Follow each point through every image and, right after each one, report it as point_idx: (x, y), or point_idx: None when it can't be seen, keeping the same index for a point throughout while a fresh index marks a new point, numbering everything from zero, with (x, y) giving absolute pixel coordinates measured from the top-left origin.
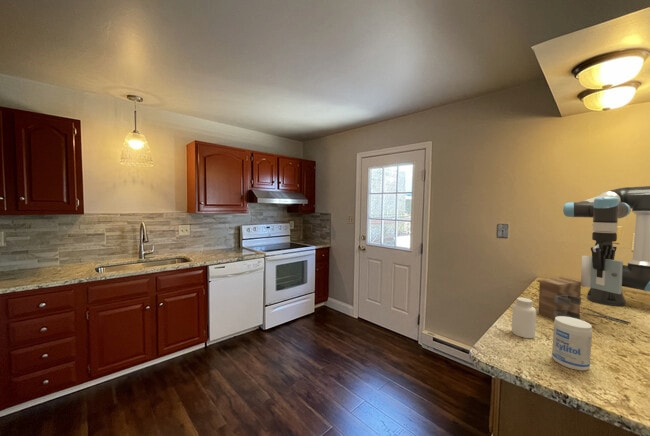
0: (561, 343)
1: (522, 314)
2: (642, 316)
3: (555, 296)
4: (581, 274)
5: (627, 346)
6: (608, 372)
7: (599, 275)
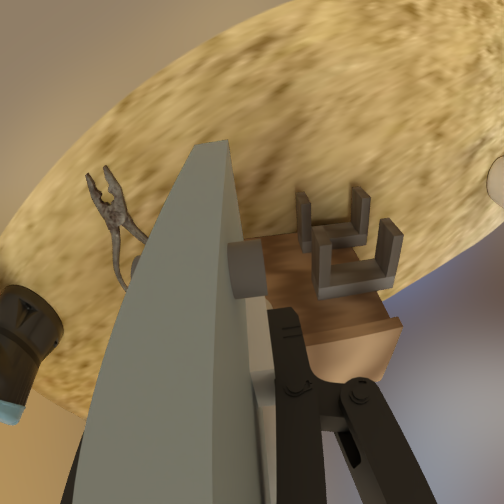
0: None
1: None
2: (13, 222)
3: (392, 282)
4: None
5: (331, 25)
6: (499, 14)
7: (301, 329)
